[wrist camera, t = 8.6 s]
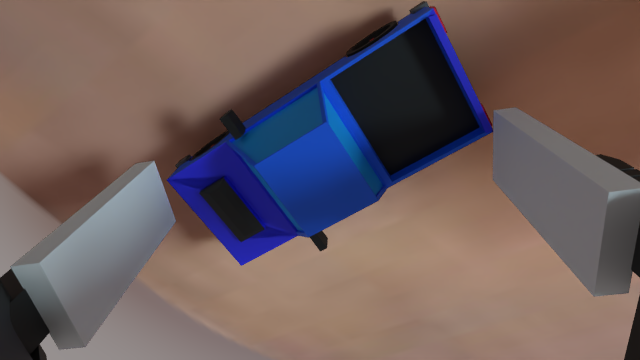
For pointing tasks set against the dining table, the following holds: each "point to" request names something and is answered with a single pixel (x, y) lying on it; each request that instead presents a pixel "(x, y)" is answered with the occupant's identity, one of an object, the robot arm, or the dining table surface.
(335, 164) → the toy car
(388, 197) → the dining table surface
